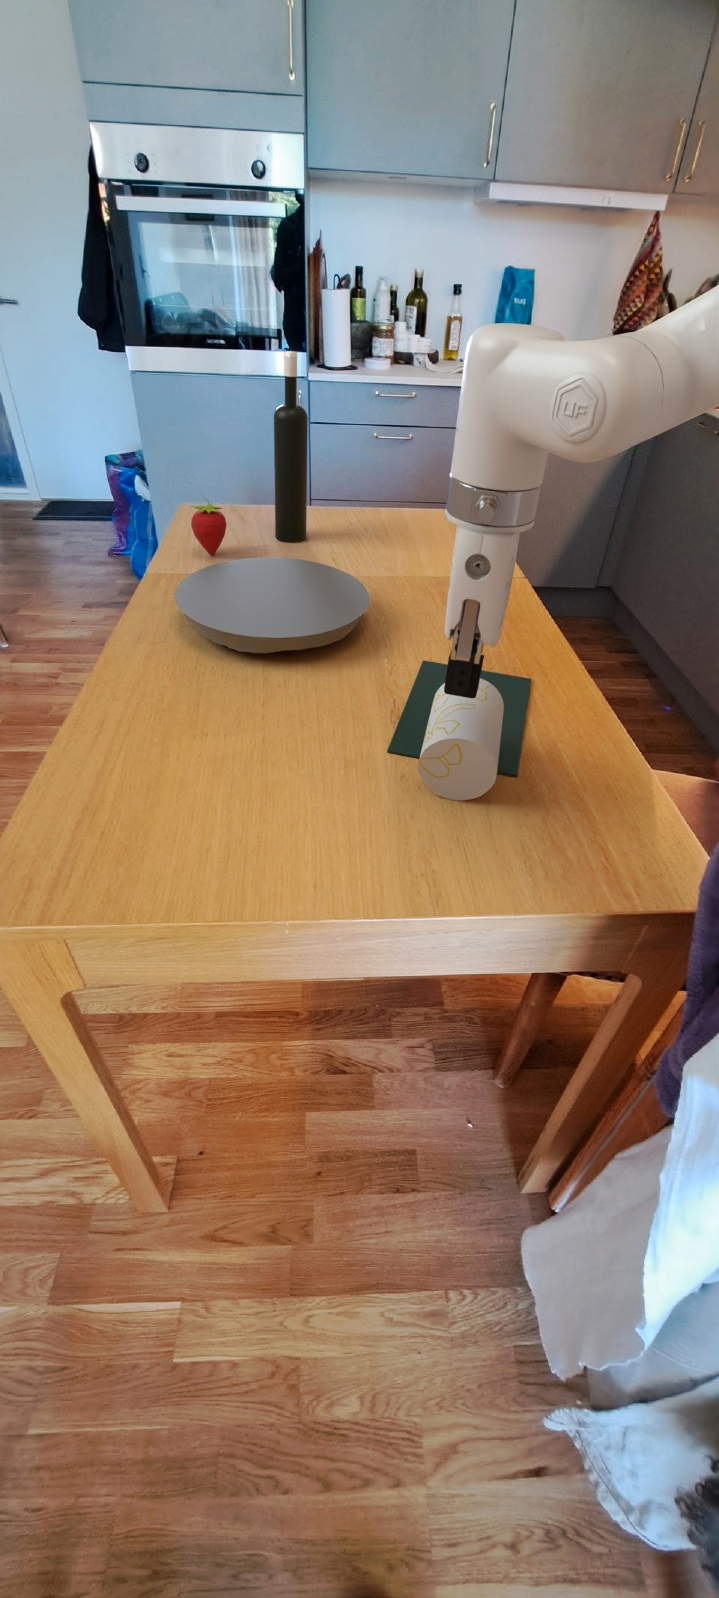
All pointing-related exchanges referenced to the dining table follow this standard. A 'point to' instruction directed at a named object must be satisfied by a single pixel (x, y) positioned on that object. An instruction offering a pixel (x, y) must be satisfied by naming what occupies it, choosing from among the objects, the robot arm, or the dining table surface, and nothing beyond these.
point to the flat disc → (271, 603)
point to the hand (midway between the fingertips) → (460, 691)
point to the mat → (420, 704)
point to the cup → (462, 743)
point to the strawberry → (209, 527)
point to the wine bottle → (290, 460)
